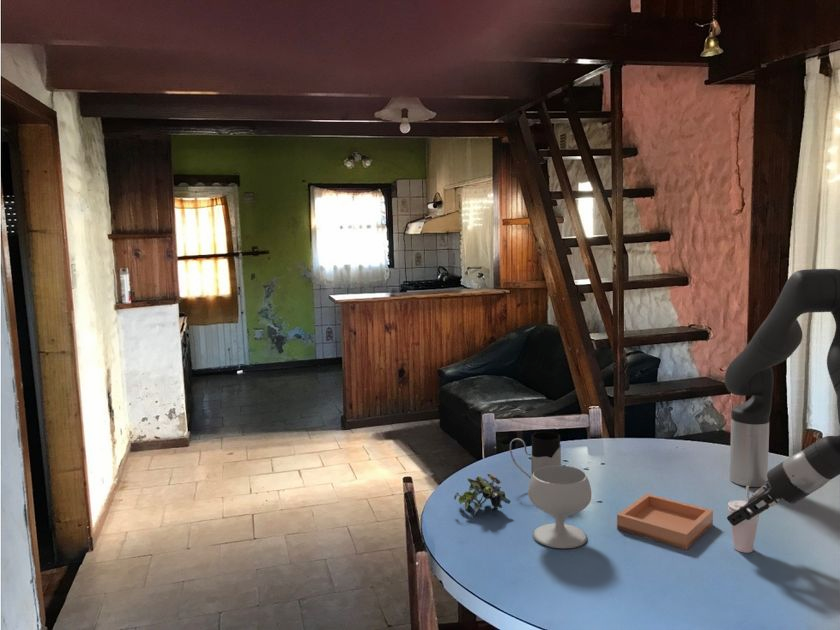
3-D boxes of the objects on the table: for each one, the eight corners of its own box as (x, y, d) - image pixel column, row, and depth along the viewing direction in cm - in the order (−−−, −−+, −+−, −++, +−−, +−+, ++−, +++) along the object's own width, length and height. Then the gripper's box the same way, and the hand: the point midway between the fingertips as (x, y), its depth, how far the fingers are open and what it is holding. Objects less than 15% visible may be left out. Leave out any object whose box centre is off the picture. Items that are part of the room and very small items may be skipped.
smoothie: (764, 556, 136) (765, 492, 134) (731, 554, 137) (732, 491, 135) (754, 542, 142) (756, 481, 140) (723, 540, 143) (724, 479, 142)
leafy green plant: (494, 527, 166) (520, 495, 161) (469, 535, 157) (496, 501, 153) (467, 494, 172) (492, 462, 168) (442, 499, 164) (467, 466, 159)
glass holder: (560, 497, 170) (560, 442, 168) (507, 492, 175) (506, 438, 173) (564, 485, 178) (564, 432, 176) (513, 480, 183) (512, 428, 181)
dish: (646, 506, 162) (646, 493, 162) (712, 524, 151) (713, 510, 151) (617, 529, 151) (617, 514, 150) (686, 549, 140) (686, 534, 140)
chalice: (555, 558, 138) (554, 490, 136) (516, 532, 151) (515, 470, 149) (604, 542, 145) (605, 477, 143) (563, 519, 157) (563, 459, 155)
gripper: (794, 451, 137) (733, 491, 147) (774, 470, 127) (711, 512, 136) (822, 480, 134) (758, 519, 144) (804, 503, 124) (737, 543, 133)
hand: (735, 516), depth 140 cm, fingers closed on smoothie, 6 cm apart
